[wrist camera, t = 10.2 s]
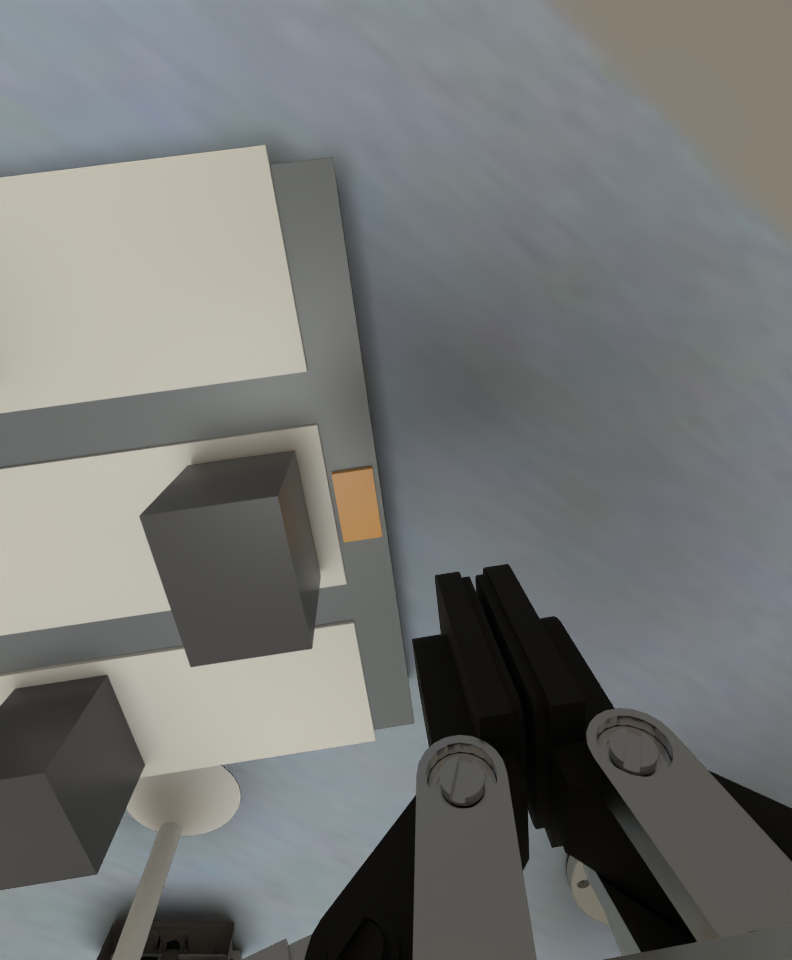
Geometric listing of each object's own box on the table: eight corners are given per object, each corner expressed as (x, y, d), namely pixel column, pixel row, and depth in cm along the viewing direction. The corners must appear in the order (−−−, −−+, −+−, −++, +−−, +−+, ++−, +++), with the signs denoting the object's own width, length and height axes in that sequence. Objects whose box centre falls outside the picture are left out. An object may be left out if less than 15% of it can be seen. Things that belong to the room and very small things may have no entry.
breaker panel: (333, 162, 19) (319, 74, 11) (409, 686, 28) (429, 833, 20) (-220, 230, 18) (-627, 188, 11) (42, 743, 27) (-78, 916, 20)
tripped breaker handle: (295, 450, 19) (277, 496, 15) (320, 576, 21) (312, 648, 16) (187, 465, 19) (138, 515, 14) (224, 590, 21) (190, 667, 16)
